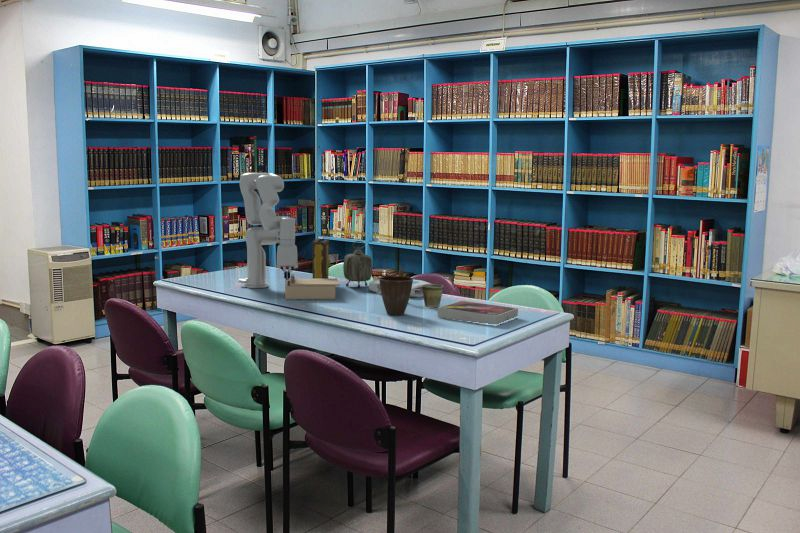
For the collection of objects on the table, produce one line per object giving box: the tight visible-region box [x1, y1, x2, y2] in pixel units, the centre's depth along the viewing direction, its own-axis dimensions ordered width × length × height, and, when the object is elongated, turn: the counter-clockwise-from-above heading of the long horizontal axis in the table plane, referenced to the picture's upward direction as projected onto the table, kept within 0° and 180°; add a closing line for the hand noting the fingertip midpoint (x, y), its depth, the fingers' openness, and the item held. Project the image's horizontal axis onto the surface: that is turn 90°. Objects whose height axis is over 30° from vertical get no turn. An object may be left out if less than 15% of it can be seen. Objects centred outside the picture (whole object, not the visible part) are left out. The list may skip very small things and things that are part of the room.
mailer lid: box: [289, 273, 340, 287], centre depth 352 cm, size 24×18×4 cm
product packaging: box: [437, 300, 519, 324], centre depth 311 cm, size 22×28×5 cm
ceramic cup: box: [421, 283, 444, 309], centre depth 335 cm, size 13×10×10 cm
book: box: [312, 238, 332, 279], centre depth 382 cm, size 22×8×25 cm, turn 179°
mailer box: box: [284, 279, 336, 301], centre depth 353 cm, size 24×18×7 cm
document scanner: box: [368, 278, 431, 298], centre depth 370 cm, size 21×28×6 cm
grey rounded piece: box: [342, 240, 373, 289], centre depth 383 cm, size 14×9×25 cm, turn 108°
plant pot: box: [378, 275, 414, 316], centre depth 314 cm, size 15×15×16 cm
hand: (287, 279), depth 350 cm, fingers closed
